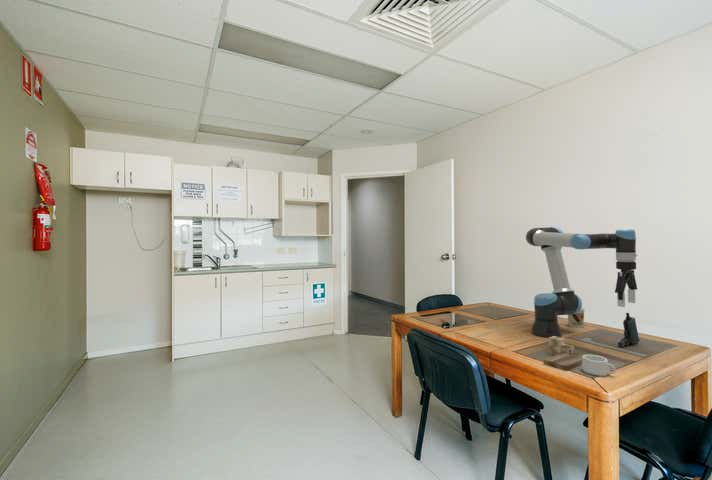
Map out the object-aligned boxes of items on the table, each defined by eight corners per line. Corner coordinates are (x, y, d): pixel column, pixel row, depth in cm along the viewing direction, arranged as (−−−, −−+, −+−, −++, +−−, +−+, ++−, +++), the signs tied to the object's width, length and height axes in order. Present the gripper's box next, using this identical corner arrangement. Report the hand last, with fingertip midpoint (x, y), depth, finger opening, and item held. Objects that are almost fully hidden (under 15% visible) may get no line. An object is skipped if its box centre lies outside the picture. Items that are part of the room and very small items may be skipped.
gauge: (549, 353, 162) (548, 337, 162) (554, 351, 165) (554, 335, 165) (570, 360, 153) (570, 342, 153) (576, 357, 156) (575, 340, 156)
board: (543, 363, 150) (543, 359, 150) (566, 354, 160) (566, 350, 160) (567, 370, 141) (567, 366, 141) (589, 360, 152) (589, 356, 152)
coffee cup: (571, 328, 204) (570, 309, 204) (564, 324, 213) (563, 306, 213) (588, 328, 202) (587, 309, 202) (580, 324, 212) (579, 306, 212)
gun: (612, 320, 168) (628, 309, 174) (618, 351, 169) (634, 339, 175) (618, 321, 165) (634, 310, 171) (624, 352, 167) (640, 340, 173)
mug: (577, 371, 141) (577, 357, 141) (586, 365, 146) (586, 352, 146) (611, 380, 131) (611, 365, 131) (619, 374, 137) (619, 359, 137)
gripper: (625, 263, 150) (626, 309, 150) (644, 259, 163) (645, 302, 164) (606, 262, 156) (607, 307, 156) (625, 259, 170) (626, 300, 170)
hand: (626, 304), depth 160 cm, fingers open, 13 cm apart
